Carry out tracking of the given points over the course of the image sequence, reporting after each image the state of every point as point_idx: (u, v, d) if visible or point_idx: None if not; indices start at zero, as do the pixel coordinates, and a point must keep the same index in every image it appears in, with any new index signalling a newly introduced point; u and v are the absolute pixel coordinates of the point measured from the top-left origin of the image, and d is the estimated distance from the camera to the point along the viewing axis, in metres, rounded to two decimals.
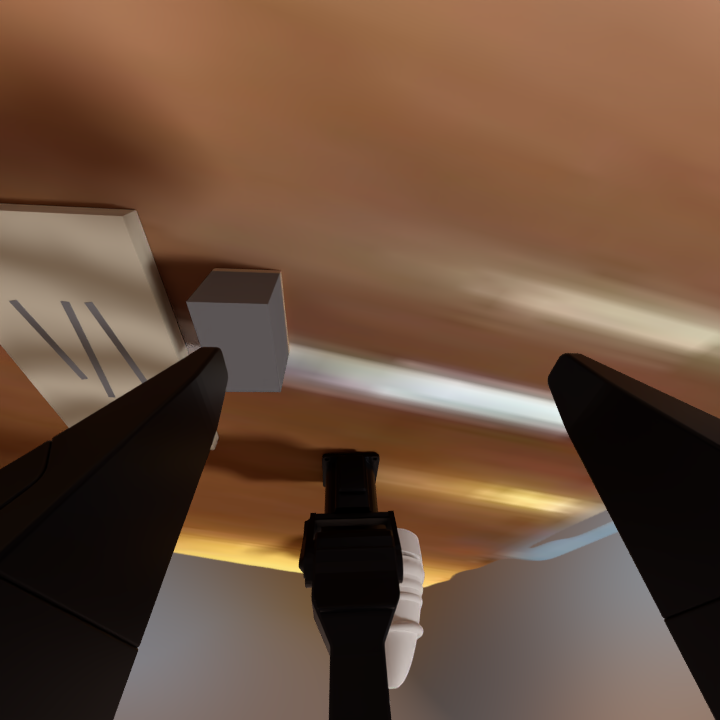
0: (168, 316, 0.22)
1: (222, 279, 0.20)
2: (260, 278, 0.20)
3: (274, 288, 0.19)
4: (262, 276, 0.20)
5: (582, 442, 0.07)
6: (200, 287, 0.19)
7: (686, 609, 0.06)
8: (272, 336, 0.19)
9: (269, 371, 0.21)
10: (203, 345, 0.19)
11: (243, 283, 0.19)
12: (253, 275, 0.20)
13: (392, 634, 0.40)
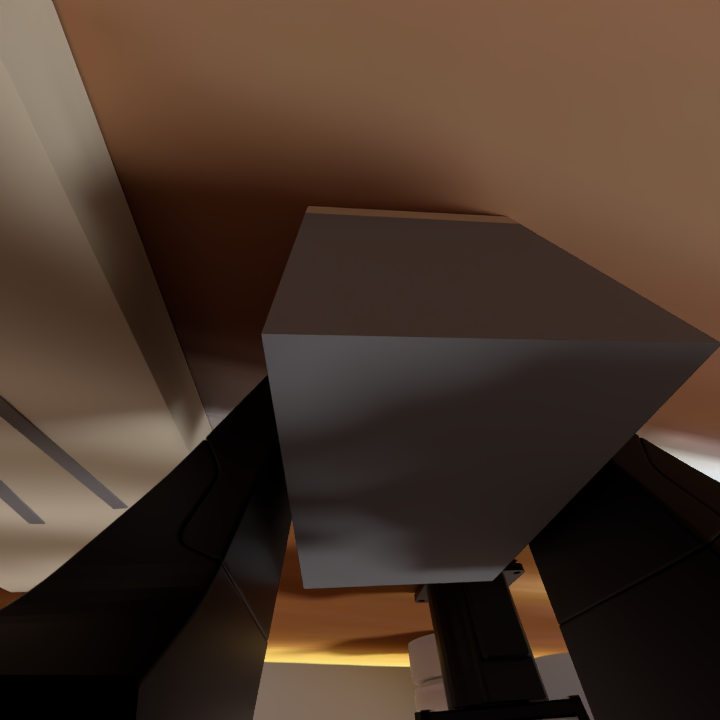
0: (164, 353, 0.08)
1: (362, 235, 0.05)
2: (487, 236, 0.06)
3: None
4: (485, 230, 0.06)
5: None
6: (298, 259, 0.04)
7: (574, 615, 0.05)
8: (594, 467, 0.04)
9: (497, 549, 0.06)
10: (302, 502, 0.05)
11: (452, 247, 0.05)
12: (450, 226, 0.06)
13: None
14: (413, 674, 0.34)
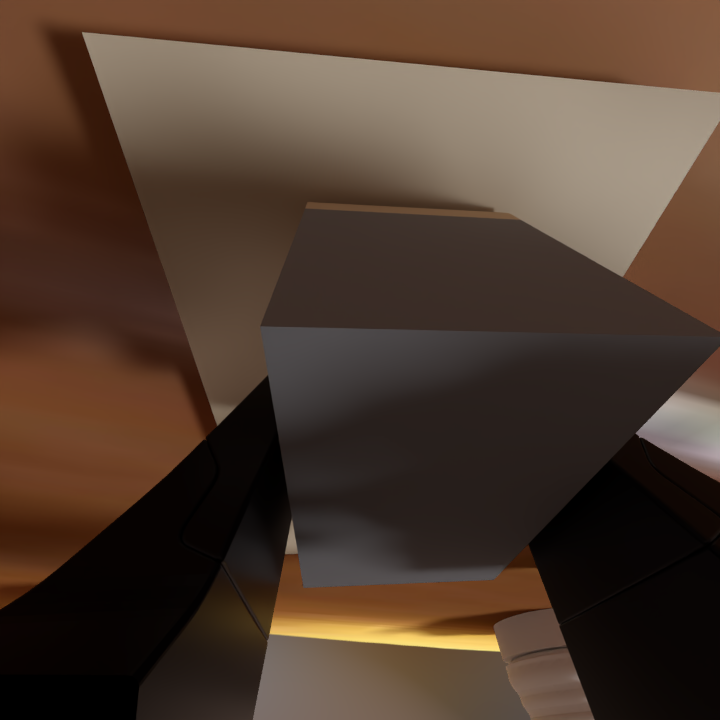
0: None
1: (362, 230, 0.05)
2: (488, 231, 0.06)
3: None
4: (486, 226, 0.06)
5: None
6: (298, 252, 0.04)
7: (574, 615, 0.05)
8: (597, 464, 0.04)
9: (499, 548, 0.06)
10: (301, 499, 0.05)
11: (453, 242, 0.05)
12: (451, 222, 0.06)
13: None
14: (506, 650, 0.37)
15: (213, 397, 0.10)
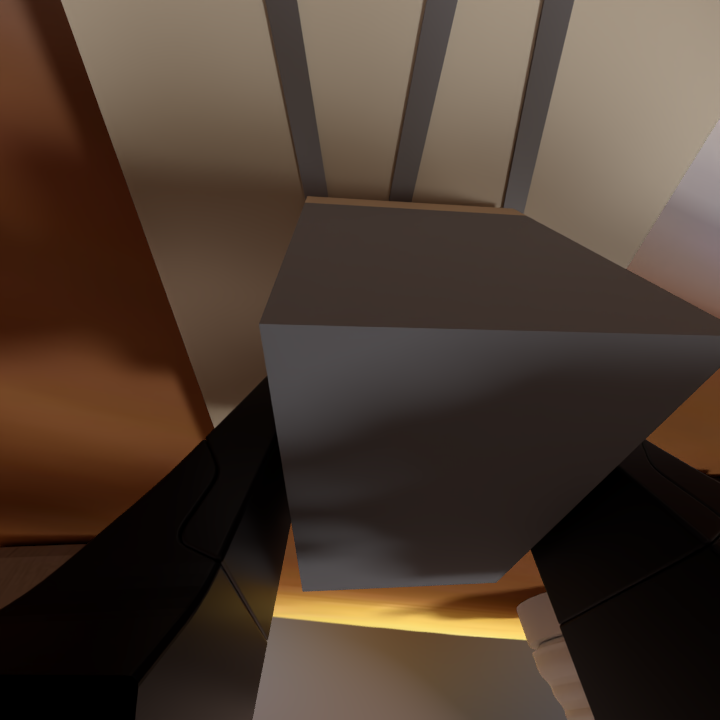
0: None
1: (364, 225, 0.05)
2: (494, 226, 0.05)
3: None
4: (492, 221, 0.06)
5: None
6: (299, 247, 0.04)
7: (574, 615, 0.05)
8: (607, 467, 0.04)
9: (503, 551, 0.06)
10: (301, 504, 0.04)
11: (459, 238, 0.05)
12: (456, 217, 0.06)
13: None
14: (534, 633, 0.32)
15: (84, 30, 0.05)
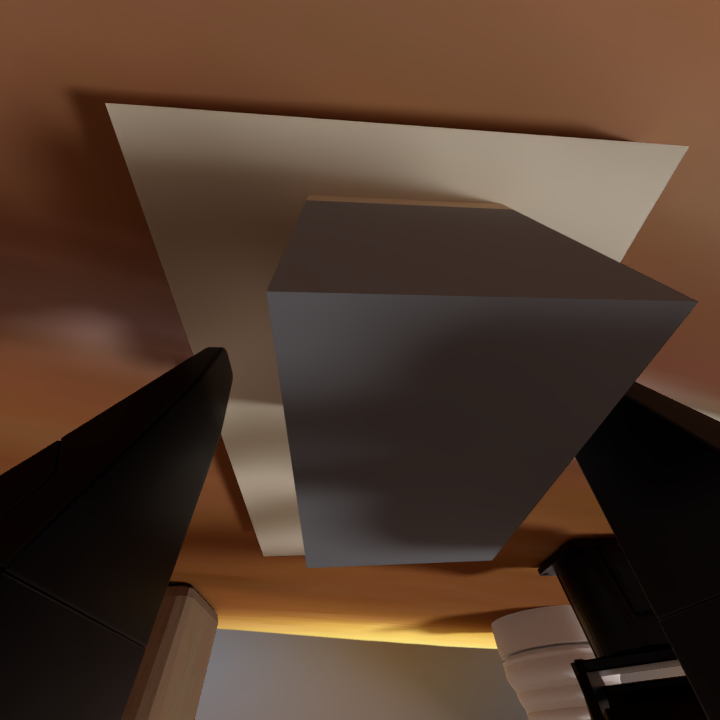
0: None
1: (361, 218, 0.05)
2: (481, 219, 0.06)
3: None
4: (479, 214, 0.06)
5: None
6: (300, 235, 0.04)
7: (680, 609, 0.06)
8: (586, 434, 0.05)
9: (495, 525, 0.06)
10: (304, 470, 0.05)
11: (447, 228, 0.05)
12: (446, 211, 0.06)
13: None
14: (503, 648, 0.38)
15: None
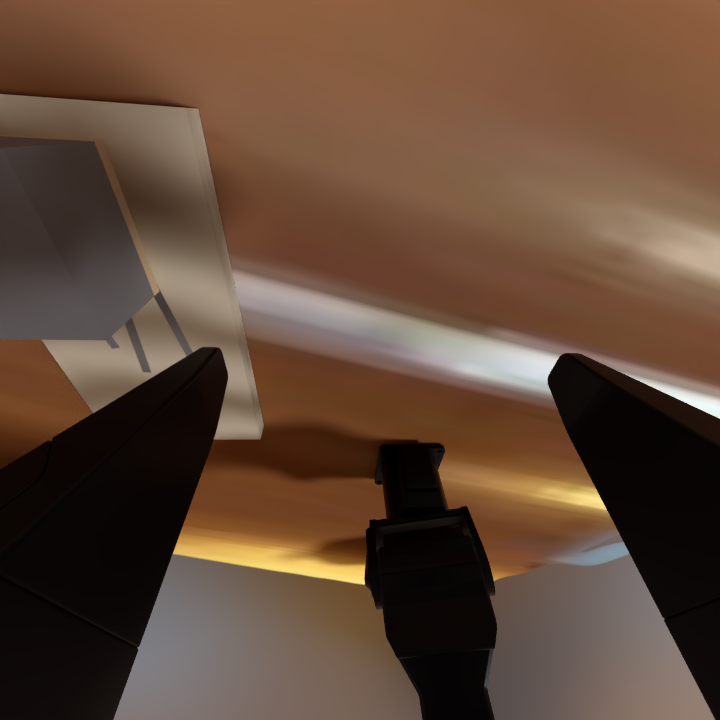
0: (225, 265, 0.18)
1: None
2: (46, 140, 0.12)
3: (56, 146, 0.11)
4: (56, 140, 0.12)
5: (582, 442, 0.07)
6: None
7: (685, 609, 0.06)
8: (45, 226, 0.11)
9: (71, 300, 0.12)
10: None
11: (5, 140, 0.11)
12: (41, 139, 0.12)
13: None
14: None
15: None
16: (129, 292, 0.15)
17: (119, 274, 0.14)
